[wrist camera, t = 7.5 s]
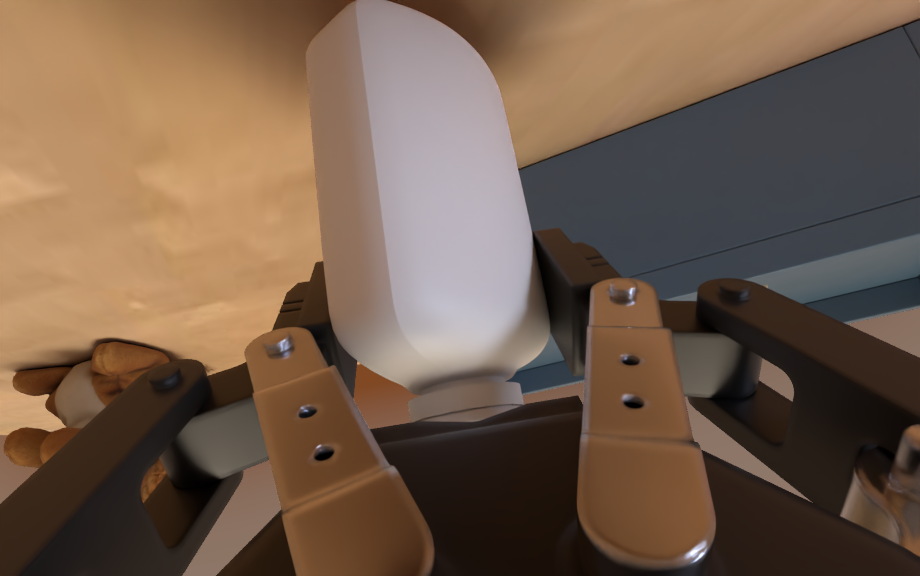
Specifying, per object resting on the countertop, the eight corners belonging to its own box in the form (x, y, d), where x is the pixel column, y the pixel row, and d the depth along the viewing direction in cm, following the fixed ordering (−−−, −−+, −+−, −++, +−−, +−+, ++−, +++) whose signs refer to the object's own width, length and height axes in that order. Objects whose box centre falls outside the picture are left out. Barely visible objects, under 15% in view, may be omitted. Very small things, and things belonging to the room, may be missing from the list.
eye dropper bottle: (370, 145, 17) (421, 555, 13) (282, 9, 12) (324, 618, 8) (504, 110, 17) (597, 528, 13) (473, -49, 11) (615, 578, 8)
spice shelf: (931, 14, 18) (1061, 241, 15) (834, 198, 32) (892, 332, 29) (405, 212, 25) (431, 391, 22) (516, 291, 39) (541, 406, 36)
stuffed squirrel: (101, 335, 33) (89, 572, 29) (250, 365, 46) (257, 531, 42) (-20, 368, 35) (-47, 593, 31) (155, 388, 48) (152, 548, 44)
